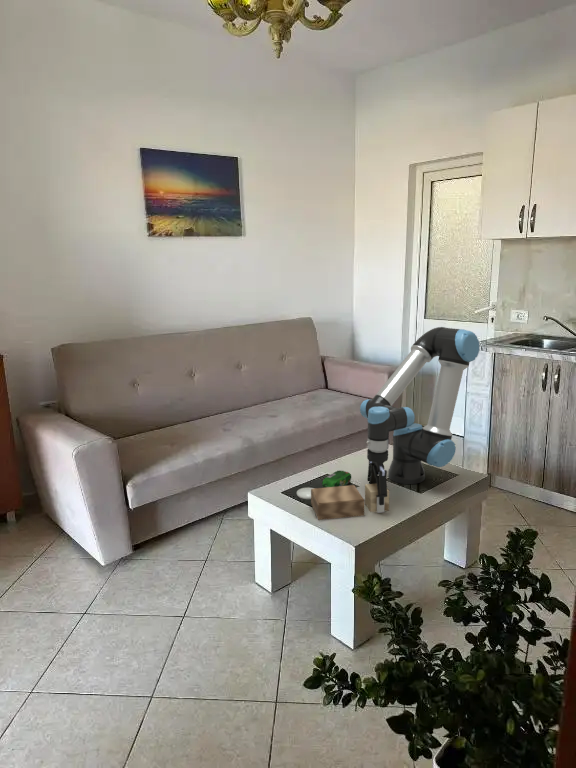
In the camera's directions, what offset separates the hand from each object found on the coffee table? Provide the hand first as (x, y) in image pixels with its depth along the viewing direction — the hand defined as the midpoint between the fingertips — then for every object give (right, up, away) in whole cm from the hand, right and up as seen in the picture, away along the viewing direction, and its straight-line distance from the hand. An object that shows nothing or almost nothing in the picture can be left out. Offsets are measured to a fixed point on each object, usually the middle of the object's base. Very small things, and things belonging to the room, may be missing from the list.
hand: (376, 506), depth 198 cm
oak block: (0, 0, 0) cm, 0 cm away
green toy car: (-13, +4, +19) cm, 23 cm away
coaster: (-25, +2, +12) cm, 28 cm away
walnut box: (-15, -1, -1) cm, 15 cm away
